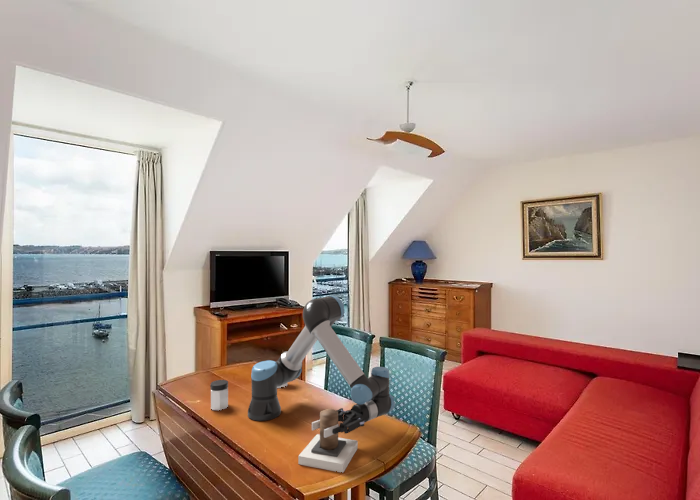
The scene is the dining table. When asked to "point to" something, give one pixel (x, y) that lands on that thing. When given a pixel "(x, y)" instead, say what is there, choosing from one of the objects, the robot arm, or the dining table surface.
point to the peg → (326, 421)
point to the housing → (328, 455)
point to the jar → (219, 394)
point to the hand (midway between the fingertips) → (318, 430)
